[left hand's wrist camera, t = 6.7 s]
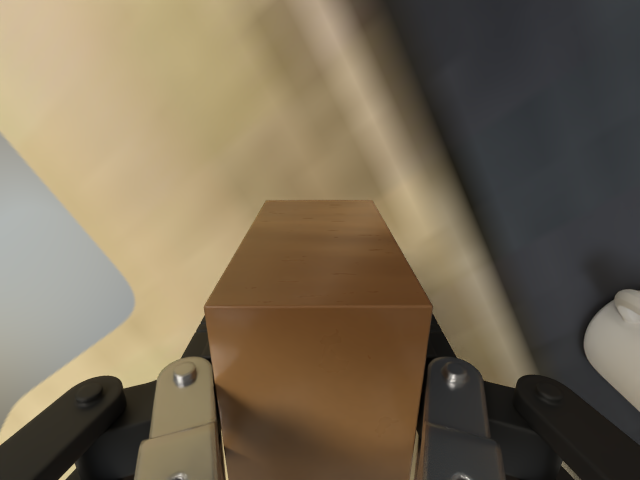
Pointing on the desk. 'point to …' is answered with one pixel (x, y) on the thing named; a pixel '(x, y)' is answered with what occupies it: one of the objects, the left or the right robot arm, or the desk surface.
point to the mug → (617, 344)
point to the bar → (318, 346)
